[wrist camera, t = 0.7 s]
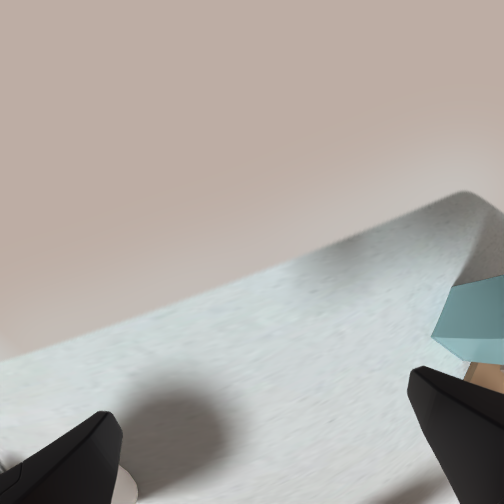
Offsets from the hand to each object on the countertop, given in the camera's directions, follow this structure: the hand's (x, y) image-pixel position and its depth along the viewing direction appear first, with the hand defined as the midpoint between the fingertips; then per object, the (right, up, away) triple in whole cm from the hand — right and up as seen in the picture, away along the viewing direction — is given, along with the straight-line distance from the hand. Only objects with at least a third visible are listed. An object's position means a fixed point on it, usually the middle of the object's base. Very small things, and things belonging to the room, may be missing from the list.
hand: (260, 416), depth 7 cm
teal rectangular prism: (+20, -3, +16) cm, 26 cm away
